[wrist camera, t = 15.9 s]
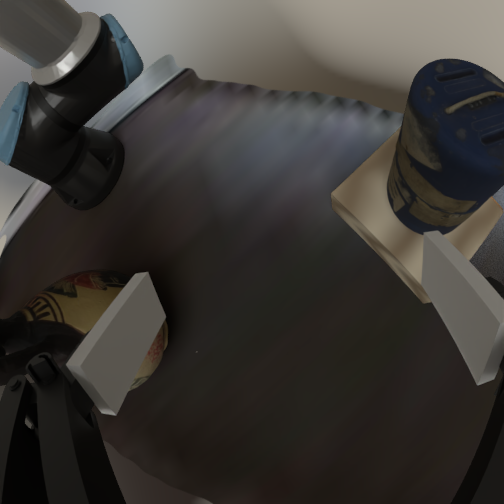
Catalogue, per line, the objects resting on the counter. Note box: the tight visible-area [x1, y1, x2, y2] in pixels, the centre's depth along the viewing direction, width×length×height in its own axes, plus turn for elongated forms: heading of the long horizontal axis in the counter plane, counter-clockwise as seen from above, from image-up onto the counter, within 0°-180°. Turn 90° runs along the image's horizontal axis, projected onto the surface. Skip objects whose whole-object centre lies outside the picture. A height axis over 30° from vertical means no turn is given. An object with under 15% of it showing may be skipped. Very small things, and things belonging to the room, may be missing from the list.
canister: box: [387, 59, 504, 235], centre depth 21 cm, size 10×10×18 cm
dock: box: [331, 127, 503, 304], centre depth 31 cm, size 16×14×5 cm
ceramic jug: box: [0, 270, 197, 391], centre depth 27 cm, size 17×15×30 cm
